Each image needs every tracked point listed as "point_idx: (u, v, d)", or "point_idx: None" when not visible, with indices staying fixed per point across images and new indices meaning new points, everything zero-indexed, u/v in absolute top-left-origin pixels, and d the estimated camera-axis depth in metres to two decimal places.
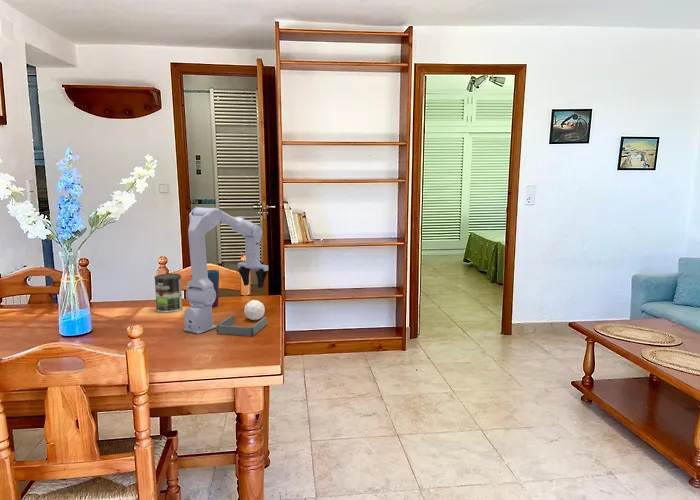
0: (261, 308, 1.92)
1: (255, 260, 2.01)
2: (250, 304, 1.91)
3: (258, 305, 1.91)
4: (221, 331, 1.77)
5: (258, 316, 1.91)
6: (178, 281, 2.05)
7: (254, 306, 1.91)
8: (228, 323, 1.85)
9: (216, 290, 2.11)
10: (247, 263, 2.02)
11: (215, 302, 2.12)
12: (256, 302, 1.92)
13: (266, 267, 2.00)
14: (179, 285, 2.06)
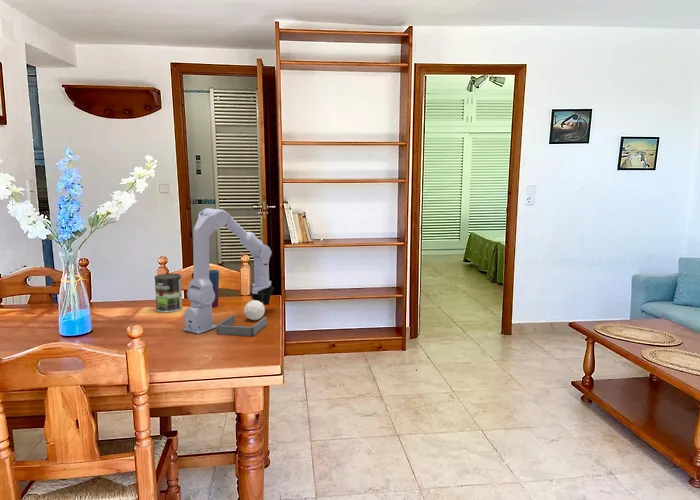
0: (261, 308, 1.92)
1: None
2: (250, 304, 1.91)
3: (258, 305, 1.91)
4: (221, 331, 1.77)
5: (258, 316, 1.91)
6: (178, 281, 2.05)
7: (254, 306, 1.91)
8: (228, 323, 1.85)
9: (216, 290, 2.11)
10: (267, 283, 2.00)
11: (215, 302, 2.12)
12: (256, 302, 1.92)
13: None
14: (179, 285, 2.06)
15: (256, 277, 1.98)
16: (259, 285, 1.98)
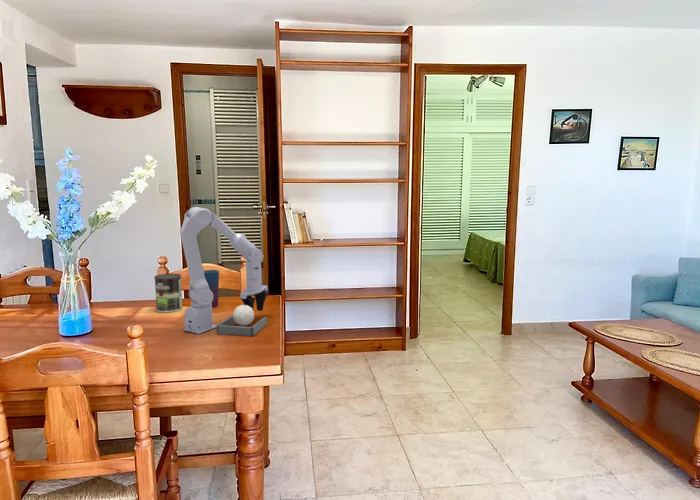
0: (249, 313, 1.85)
1: None
2: (238, 309, 1.85)
3: (246, 310, 1.84)
4: (221, 331, 1.77)
5: (246, 322, 1.84)
6: (178, 281, 2.05)
7: (241, 311, 1.84)
8: (228, 323, 1.85)
9: (216, 290, 2.11)
10: (259, 288, 1.91)
11: (215, 302, 2.12)
12: (244, 307, 1.85)
13: None
14: (179, 285, 2.06)
15: (247, 281, 1.91)
16: (250, 290, 1.90)
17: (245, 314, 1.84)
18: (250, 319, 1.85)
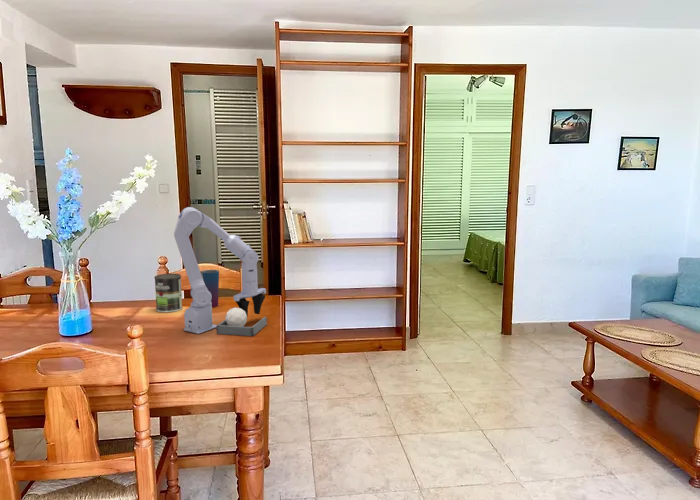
0: (240, 316, 1.80)
1: None
2: (230, 312, 1.81)
3: (237, 313, 1.80)
4: (221, 331, 1.77)
5: (237, 325, 1.80)
6: (178, 281, 2.05)
7: (233, 314, 1.80)
8: None
9: (216, 290, 2.11)
10: (254, 291, 1.87)
11: (215, 302, 2.12)
12: (236, 310, 1.81)
13: None
14: (179, 285, 2.06)
15: (242, 283, 1.87)
16: (244, 292, 1.86)
17: (236, 317, 1.80)
18: (242, 322, 1.81)
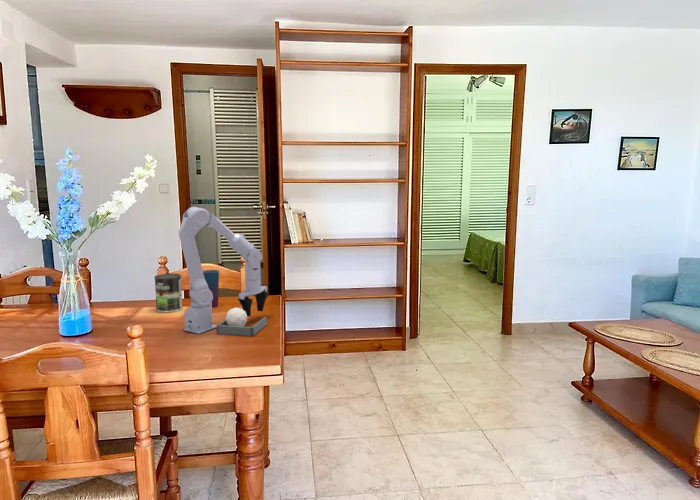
0: (241, 317, 1.80)
1: None
2: (230, 312, 1.81)
3: (238, 313, 1.80)
4: (221, 331, 1.77)
5: (237, 325, 1.80)
6: (178, 281, 2.05)
7: (233, 314, 1.80)
8: None
9: (216, 290, 2.11)
10: (258, 289, 1.90)
11: (215, 302, 2.12)
12: (237, 310, 1.81)
13: None
14: (179, 285, 2.06)
15: (246, 282, 1.90)
16: (248, 290, 1.89)
17: (236, 317, 1.80)
18: (242, 323, 1.81)
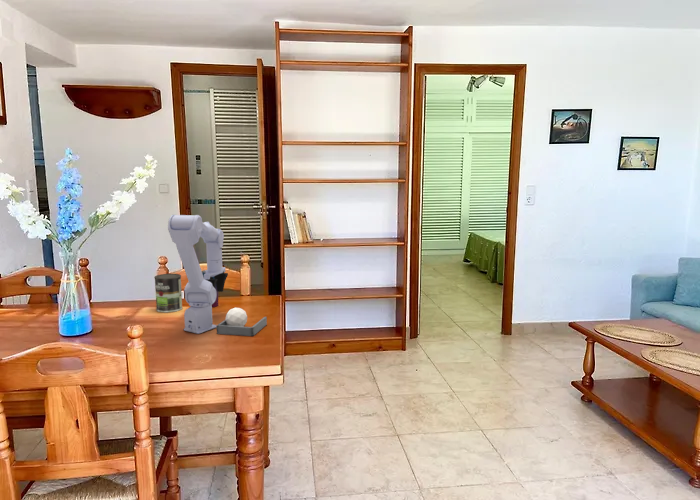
0: (241, 317, 1.80)
1: None
2: (230, 312, 1.81)
3: (238, 313, 1.80)
4: (221, 331, 1.77)
5: (237, 325, 1.80)
6: (178, 281, 2.05)
7: (233, 314, 1.80)
8: None
9: (216, 290, 2.11)
10: (221, 269, 1.94)
11: (215, 302, 2.12)
12: (237, 310, 1.81)
13: None
14: (179, 285, 2.06)
15: (208, 262, 1.92)
16: (212, 271, 1.92)
17: (236, 317, 1.80)
18: (242, 323, 1.81)
